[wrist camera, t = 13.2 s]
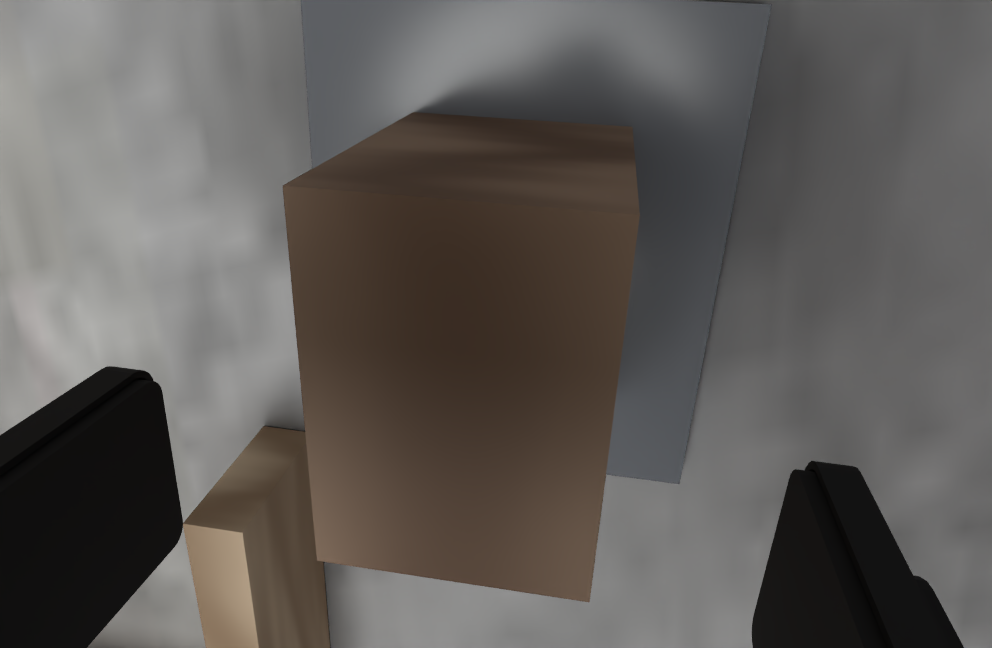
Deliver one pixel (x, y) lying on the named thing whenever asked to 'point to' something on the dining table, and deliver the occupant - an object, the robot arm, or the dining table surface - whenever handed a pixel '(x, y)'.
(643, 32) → the slate pad
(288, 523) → the shelf bay
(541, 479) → the block
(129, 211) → the dining table surface
